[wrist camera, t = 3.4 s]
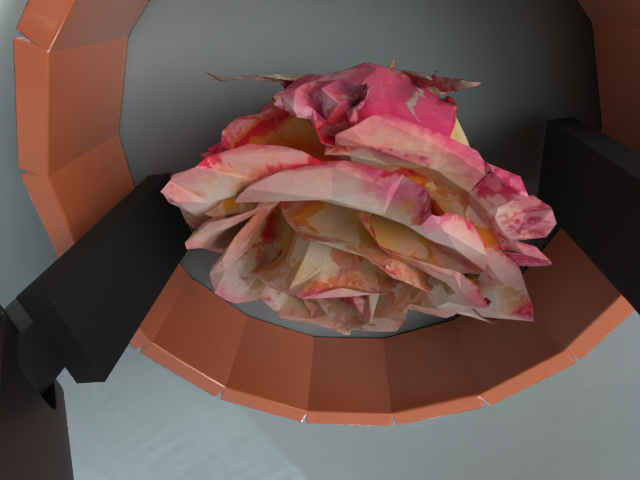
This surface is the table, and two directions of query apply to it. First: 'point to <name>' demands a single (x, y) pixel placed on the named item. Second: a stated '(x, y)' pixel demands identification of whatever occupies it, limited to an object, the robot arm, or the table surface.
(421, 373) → the terracotta brick ring
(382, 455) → the table surface
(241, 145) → the flower
